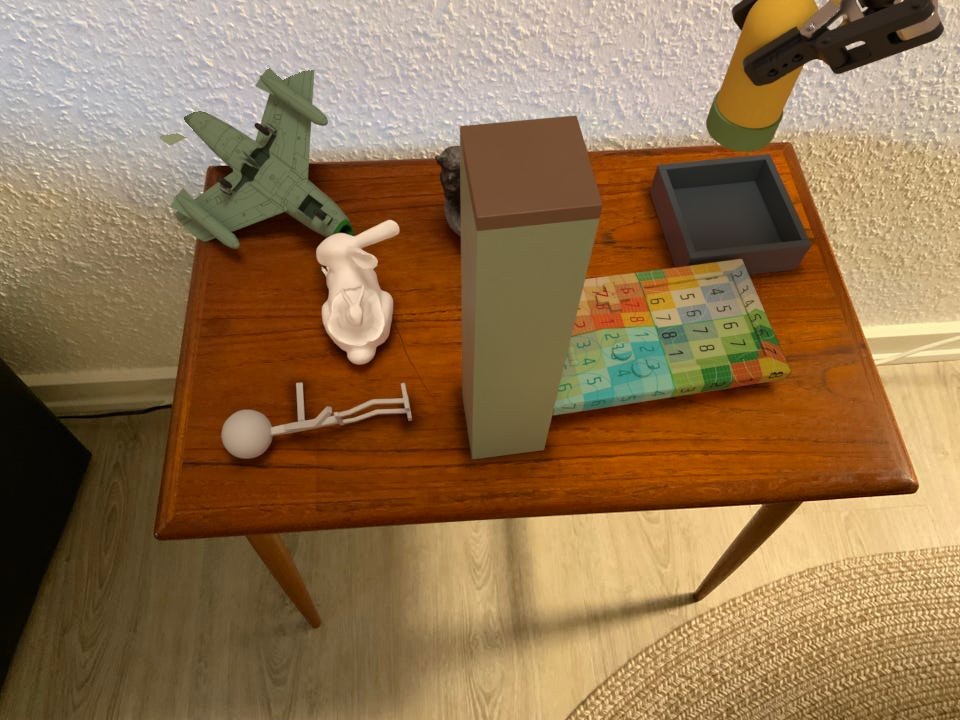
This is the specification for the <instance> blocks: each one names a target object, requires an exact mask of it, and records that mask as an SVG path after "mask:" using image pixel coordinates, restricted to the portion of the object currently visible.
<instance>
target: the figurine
mask: <svg viewBox="0 0 960 720" xmlns="http://www.w3.org/2000/svg"><path fill="white" fill-rule="evenodd" d="M295 387H296V388H295V389H296V404H297V405H296V407H297V409H296V410H297V421H294V422H289V423H285V424H280V425H275V426H273V425H272V423H271V421H270V419H269V418H268V417H267V416H266V415H265V414H264V413H262V412H260V411H258V410H256V409H255V410H254V409H240V410H237V411H236V412H234V413H232V414H231V415H230V416H229V417H228V418H227V419H226V420H225V421H224V423H223V424H222V425H223V426H222V427H221V435H220V437H221V442H222V444H223V446H224V448H225V449H226V451H227V452H228V453H229V454H231V455H232V456H233V457H235V458H238V459H254V458H258V457H259V456H261V455H263V454H264V453H265V452H266V451H267V450H268V449H269V447H270V446H271V444H272V441H273V437H274V436H281V435H287V434H289V435H290V434H294V433H299V432H304V431H308V430H313V429H320V428H323V427H329V426H335V425H338V424H339V426H345V425H346V424H351V423H356V422H361V421H362V420H365V419H368V418H372V417H374V416H378V415H397V414H398V415H400V414H406V415H407V416H406V417H407V420H408V422H411V421H413V415H412V410H411V405H410V397H409V394H408V391H407V386H406V382H402V383H401V382H400V388H401V393H402V398H401V397H400V398H372V399H370V400H368V401H365V402H363V403H361V404H359V405H357V406H355V407H352V408H350V409H347V410H343V411H334V412H333V408H332V406H328V405H327V406H325V408H324V409H323V410H322V411H321V412H320V413H319V414H318V415H317V416H316V417H315V418H313V419H312V418H311V419H305V418H306V417H305V401H304V399H305V398H304V383H303V382H296V383H295ZM401 404H403V406H404V408H379V409H374V410H372V411H369V412H366V413H363V414H361V415H358V416H355V417H350V418H346V419H345V418H344V417H347V416H351V415H353V414H356V413H358V412H360V411H362V410H364V409H367V408H369V407H371V406H372V407H373V406H374V405H401ZM332 414H333V415H332ZM343 418H344V419H343Z"/></svg>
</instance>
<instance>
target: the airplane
mask: <svg viewBox="0 0 960 720" xmlns="http://www.w3.org/2000/svg"><path fill="white" fill-rule="evenodd" d="M266 69H267V68H266ZM266 69H265V71H264V72H263V73H262V74H261V75H259V79H258V80H257V82H256V84H255V85H254V87H256V88H258V89H260V90H262V91H265V92H266V93H268V98H267V101H266V104H265V108H264V110H263V114H262V117H261V121H260V123H259V122H255V123H254V128H255V129H256V130H258V131H257V135H256V137H255V140H254V139H253V138H251V137H250V136H249V135H247V134H245V133H244V132H242V131H241V130H239V129H237V128H236V127H234V126H232V125H230V124H229V123H227V122H225V120H224V121H223V120H222V119H220V118H218V117H216V116H214V115H213V114H211V113H210V114H208V113H206V112H202V111H198V112H193V113H191V114H189V115H187V116H185V117H184V120H185V122H186V123H187V124H188V125H189V126H190V127H191V128H192V129H193V131H194V132H195V134H196V135H197V137H198V138H199V139H200V140H201V141H202V142H203V143H204V144H205V145H206V146H207V147H208V148H209V149H210V150H211V152H213V153H214V154H215V155H216V156H217V157H218V158H219V159H220V160H221V161H222V162H223V163H224V164H226V165H227V166H228V167H229V168H230V169H232V172H231V173H229V174H228V175H226V176H225V177H223V176H220V175H217V177H216V181H217V182H216V183H215V184H214V185H213V186H211V187H210V188H208V189H207V190H205V191H204V192H202V193H201V194H199V195H198V196H197V197H195V198H193V197H192V196H191V194H190V193H189V192H188V191H187V190H186V189H185V188H184V187H182V188H181V190H180V191H179V192H178V193H177V194H175V198H174V199H173V201H172V202H171V204H170V205H169V207H170V208H172V209H173V210H175V212H174V213H173V216H174V218H175V219H176V220H177V222H179V223H180V225H181V226H182V227H183V228H184V229H185V230H186V231H188V233H190V234H191V235H192V236H193V237H194V238H196V239H198V240H200V241H202V242H209V241H212V240H214V239H217V240H218V242H220V243H221V244H223V245H224V246H226V247H228V248H230V249H233V250H237V249H239V248H240V247H241V244H240V241H239V239H238V237H237V236H236V234H235V233H233V232H235V231H238V230H241V229H243V228H246V227H248V226H251V225H254V224H256V223H259V222H261V221H264V220H267V219H270V218H272V217H275V216H277V215H280V214H283V213H286V214H288V215H289V216H290V217H292V218H294V219H295V220H296V221H298V222H299V223H301V224H302V225H304V226H305V227H307V228H308V229H310V230H312V231H313V232H315V233H317V234H319V235H321V236H323V237H325V238H328V237H330V236H331V235H334V234H337V233H345V234H348V235H351V236H355V231H354V228H353V226H352V225H353V224H351V221H350V219H349V217H348V216H347V214H346V213H345V212H344V211H343V209H341V207H339V206H338V204H337V203H336V202H335V201H334V200H333V199H332V198H331V197H330V196H329V195H327V194H326V193H325V192H324V191H323V190H321V189H320V188H319V187H318V186H316V185H315V184H314V183H313V182H312V181H311V180H309V165H310V149H311V148H310V147H311V132H312V124H314V125H318V126H321V127H325V126H327V125H328V124H329V120H328V117H327V116H326V114H325V113H323V112H322V110H321V109H320V108H318V107H317V106H316V105H314V104H313V100H314V86H315V83H314V82H315V69H314V70H311V71H310V70H308V71H302V72H301V73H300V72H299V73H298V74H295V75H294V76H293V75H292V76H290V77H288V78H286V79H284V80H282V79H281V78H280V77H279V76H277V75H276V72H275V71H274V70H273V69H272V68H271V67H269V69H267V70H266ZM158 138H159V139H160V140H161V141H162V142H164V143H165V144H166V145H168V146H173V145H175V144H177V143H179V142H180V141H183V140H185V139H187V138H188V137H184V136H182V135H180V134H177V133H176V134H170V135H168V134H167V135H162V134H161V135H160V136H159V137H158Z"/></svg>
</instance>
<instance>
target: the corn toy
mask: <svg viewBox="0 0 960 720" xmlns="http://www.w3.org/2000/svg"><path fill="white" fill-rule="evenodd" d="M818 10H820V8H819V7H818V5H817V3H816V1H815V0H758V1H757V2H756V3H755V4H754V5H753V7H752V8H751V10H750V11H749V13H748V15H747V18H746V20H745V23H744V26H743V28H742V31H741V30H740V34H739V37H738V40H737V42H736V45H735V48H734V50H733V53H732V56H731V59H730V62H729V64H728V67H727V70H726V73H725V75H724V77H723V81H722V84H721V86H720V89H719V90H718V91H717V92H716V93H715V95H714V97H713V100H712V102H711V105H710V108H709V111H708V114H707V117H706V121H705V126H706V127H705V128H706V130H707V133H708V134H709V136H710V137H711V138H712V139H713V140H714V141H715V142H716V143H718V144H719V145H720V146H722V147H723V148H727V149H728V150H732V151H736V152H742V153H749V152H750V153H752V152H756V151H760V150H763V149H764V148H766V147H768V146H769V144H771V142H772V141H773V139H774V136H775V134H776V133H777V130H778V128H779V126H780V124H781V122H782V120H783V117H784V109H785V107H786V104H787V103H788V100H789V98H790V97H791V94H792V92H793V90H794V88H795V85H796V83H797V81H798V79H799V76H800V75H801V72H802V71H803V68H804V67H805V64H804V65H802V66H801V67H799V68H797V69H796V70H794V71H792V72H790V73H789V74H787V75H785V76H783V77H781V78H780V79H778V80H777V81H775V82H773V83H770V84H767V85H762V86H756V85H754V84H753V82H752V81H751V80H750V79H749V77H748V76H747V75H746V73H745V72H744V68H743V60H744V58H745V57H747V56H748V55H750V54H752V53H753V52H755V51H756V50H758V49H760V48H761V47H763V46H765V45H766V44H768V43H769V42H771V41H773V40H774V39H776V38H778V37H779V36H781V35H782V34H784V33H786V32H787V31H789V30H790V29H792V28H794V27H795V26H797V28H798V29H799V31H800V28H801V26H802V25H803V24H804V23H805V22H806V21H807V20H808V19H809V18H810V17H812V16H813V15H814V14H815V13H816V12H817V11H818Z"/></svg>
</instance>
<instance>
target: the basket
mask: <svg viewBox="0 0 960 720" xmlns="http://www.w3.org/2000/svg"><path fill="white" fill-rule="evenodd" d="M649 195H650V198H651V201H652V203H653V206H654V209H655V212H656V215H657V218H658V221H659V224H660V227H661V231H662V233H663V237H664V239H665V241H666V245H667V248H668V251H669V254H670V257H671V259H672V260H671V261H672V262H673V266H674V268H676V267H684V266H692V265H699V264H707V263H714V262H721V261H728V260H736V259H742V260H743V262H744V264H745V267H746V269H747V271H748V273H749V276H751V275H760V274H769V273H778V272H786V271H787V272H788V271H796V270H797V268H798V266H799V265H800V264H801V262H802V261H803V259H804V258H805V256H806V255H807V253H808V252H809V250H810V249H811V247H812V242H811V240H810V238H809V236H808V234H807V231H806V230H805V229H806V228H805V226H804V224H803V223H802V221H801V218H800V216H799V214H798V212H797V209H796V208H795V205H794V203H793V201H792V199H791V197H790V194H789V192H788V190H787V188H786V186H785V184H784V181H783V179H782V177H781V175H780V173H779V170H778V168H777V166H776V164H775V162H774V159H773V158H772V156H771V154H770V153H765V154H764V153H763V154H755V155H745V156H732V157H724V158H712V159H704V160H694V161H683V162H673V163H663V164H662V163H661V164H657V166H656V170H655V172H654V175H653V179H652V182H651V185H650V188H649Z"/></svg>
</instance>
